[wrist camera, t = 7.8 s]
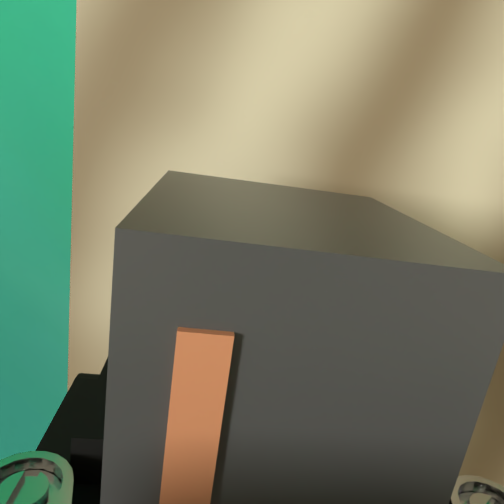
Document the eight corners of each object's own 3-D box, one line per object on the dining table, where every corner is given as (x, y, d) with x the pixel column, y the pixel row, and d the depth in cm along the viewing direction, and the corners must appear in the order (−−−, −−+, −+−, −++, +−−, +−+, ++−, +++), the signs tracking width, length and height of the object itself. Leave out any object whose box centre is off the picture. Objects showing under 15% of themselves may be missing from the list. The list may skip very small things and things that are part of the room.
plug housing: (370, 197, 9) (533, 278, 5) (294, 543, 12) (344, 819, 7) (168, 170, 9) (112, 229, 4) (136, 537, 12) (80, 832, 7)
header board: (755, -219, 11) (1129, -453, 6) (477, 516, 18) (565, 651, 13) (104, -400, 9) (-6, -901, 5) (75, 497, 16) (19, 646, 11)
